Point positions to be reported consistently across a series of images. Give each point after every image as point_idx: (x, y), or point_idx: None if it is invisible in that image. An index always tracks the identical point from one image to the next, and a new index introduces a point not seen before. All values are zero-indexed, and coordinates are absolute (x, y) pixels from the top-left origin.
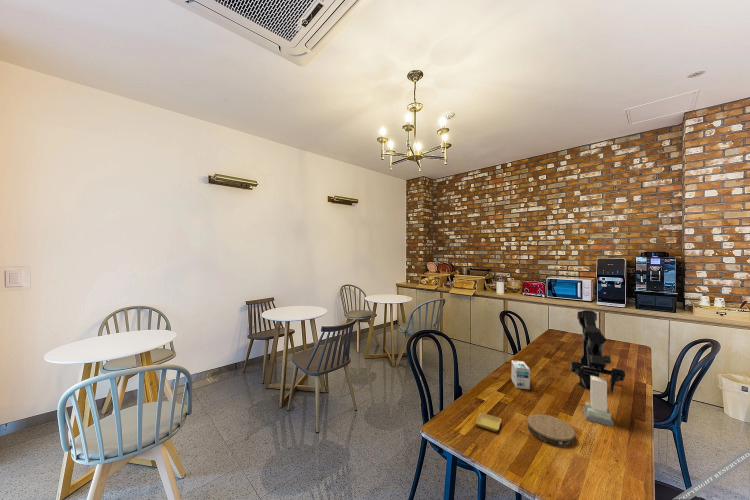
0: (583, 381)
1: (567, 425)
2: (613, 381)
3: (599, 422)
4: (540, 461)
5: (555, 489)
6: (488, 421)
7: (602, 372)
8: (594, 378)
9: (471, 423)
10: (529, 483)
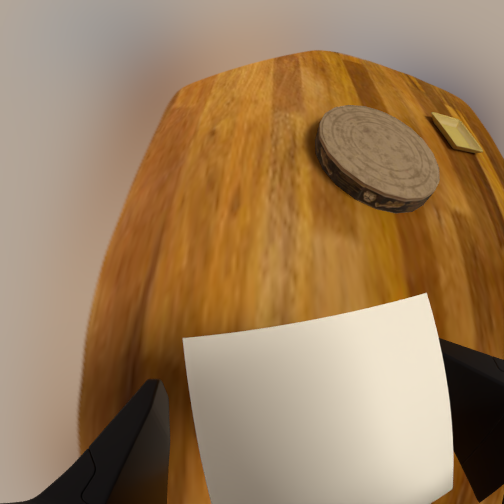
0: (461, 349)
1: (353, 167)
2: (83, 482)
3: None
4: (342, 81)
5: (302, 55)
6: (461, 144)
7: None
8: (409, 397)
9: None
10: (331, 55)
